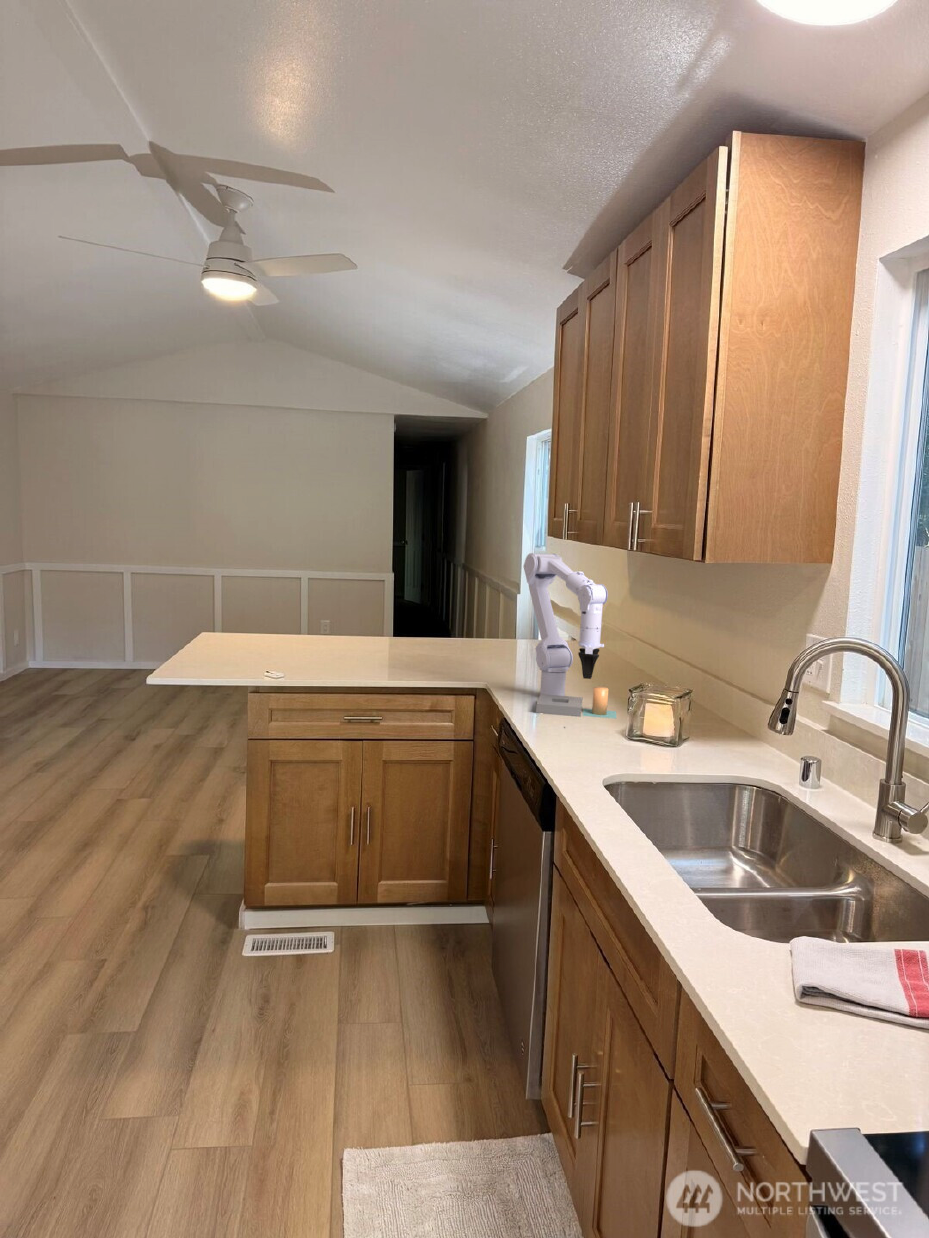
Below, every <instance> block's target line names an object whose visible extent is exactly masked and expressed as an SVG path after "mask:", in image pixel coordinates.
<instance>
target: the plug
mask: <svg viewBox="0 0 929 1238" xmlns="http://www.w3.org/2000/svg"><path fill="white" fill-rule="evenodd" d="M608 699H609V688H608V687H605V686H594V687H593V693H592V708H591V709H592V713H593V714H595V715H606V714H607V711H608V702H609V700H608Z"/></svg>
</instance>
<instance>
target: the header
mask: <svg viewBox="0 0 929 1238" xmlns="http://www.w3.org/2000/svg"><path fill="white" fill-rule="evenodd" d="M582 710H583V697H582V696H570V695H565V696H559V695H547V694H540V693H539V696H538V699H537V702H536V708H535V713H536V714H540V713H543V715H553V716H564V717H565V716H567V717H576V718H577V717H579V718H581V716H582V712H583V711H582Z"/></svg>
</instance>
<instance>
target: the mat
mask: <svg viewBox="0 0 929 1238" xmlns="http://www.w3.org/2000/svg"><path fill="white" fill-rule="evenodd" d="M582 710H583V711H582V716H583V717H593V718H603V719H604V718H605V719H617V711H616V710H615V711H614V710H607V714H606V715H595V714H593V713H592V708H582Z"/></svg>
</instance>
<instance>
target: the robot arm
mask: <svg viewBox="0 0 929 1238" xmlns="http://www.w3.org/2000/svg"><path fill="white" fill-rule="evenodd" d="M523 569H524V570H523V571H524V574H525V578H526V583H527V584H528V589H529V590H528V591H529V593H530V598H531V601H532V605H533V606H532V607H533V610H534V614H535V618H536V623H537V626H538V630H539V635H540V638H541V639H540V642H539V643H537V645H535V646H536V647H535V648H534V649H535V654H536V656H535V661H536V665H537V667H538V668H539V671H541V673H540V687H539V689H540V690H539V695H540V694H547V695H559V696H566V695H565V694H566V680H567V679H566V676H567V672H569V668H571V666H572V665H573V662H574V655H573V653H572V650H571V649H570V647H569V644H568V642H567V641H566V640H565V639H564V638H562V637H561V636H560V634H559V630H558V625H557V622H556V617H555V614H554V609H553V606H552V602H551V598H550V594H549V590H548V588H549V585H551V584H553V582H554V580H555V579H556V577H558V578H560V579H561V580H562V581H564V582H565V586H566V588H567V589H568V590H569V591H570V592H571V593H573V594H575V595H576V596H577V600H578V602H579V610H580V627H579V639H578V641H579V642H578V644H577V645H578V647H581V648H579V652H578V657H579V660H580V663H581V671H582V678H583V679H587V680H591V679H592V677H593V673H594V669H595V665H596V662H597V660H598V658H599V657H600V654H599V652H600V648H605V643H601V636H602V635H601V634H602V620H603V608H604V607H603V606H604V605H605V604H606V603H607V601H608V598H609V597H608V596H609V592H608V589H607V587H606V586H605V584H603V583H598V584H597V583H595V582H594V580H593V579H589V578H588V577H587V576H586V575H585V573H584V572H583V570H582V571H581V570H579V571H573V570H572V569H571V568H570V567H569V566H568V565H567V564H566V563H564V562H563V558H562V557H561V556H559V554H556V553H552V554H551V553H534V552H531V553H528V554H527V556H526V557H525V560H524V563H523Z"/></svg>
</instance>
